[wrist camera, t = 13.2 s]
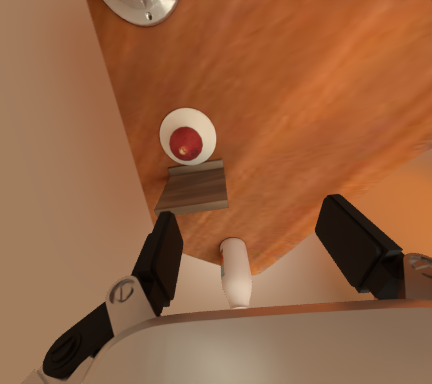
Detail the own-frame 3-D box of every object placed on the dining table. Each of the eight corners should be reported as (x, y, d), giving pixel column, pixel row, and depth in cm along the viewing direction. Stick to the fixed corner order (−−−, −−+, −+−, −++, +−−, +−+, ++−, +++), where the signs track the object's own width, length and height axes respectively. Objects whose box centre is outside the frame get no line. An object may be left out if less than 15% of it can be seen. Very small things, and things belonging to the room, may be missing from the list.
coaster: (152, 113, 31) (150, 114, 30) (210, 102, 30) (210, 102, 29) (171, 167, 37) (169, 168, 36) (219, 159, 36) (220, 160, 35)
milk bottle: (225, 234, 49) (232, 312, 32) (249, 240, 50) (267, 318, 34) (216, 250, 53) (217, 327, 36) (238, 255, 54) (249, 332, 38)
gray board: (168, 167, 37) (150, 202, 26) (222, 158, 36) (225, 190, 25) (175, 186, 40) (161, 225, 29) (225, 178, 39) (229, 215, 28)
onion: (209, 136, 33) (208, 150, 26) (192, 158, 35) (187, 175, 28) (184, 116, 31) (176, 125, 24) (168, 140, 33) (156, 155, 26)
